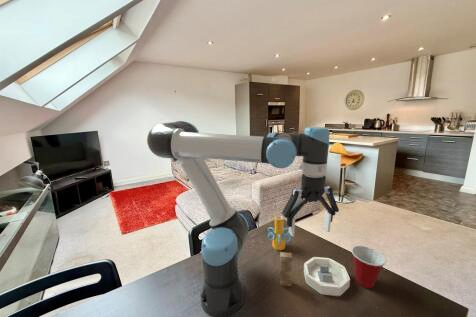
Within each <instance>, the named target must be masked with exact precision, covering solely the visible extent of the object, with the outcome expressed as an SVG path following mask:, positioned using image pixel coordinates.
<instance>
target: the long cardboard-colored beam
mask: <svg viewBox="0 0 476 317" xmlns="http://www.w3.org/2000/svg"><path fill="white" fill-rule="evenodd" d="M279 254H280V255H279V257H280V258H279V285H280V286H285V287H292V278H293V277H292V276H293V275H292V271H293V270H292V269H293V267H292V266H293V257H292V255H293V254H292V252H286V251H285V252H281V251H280V252H279Z"/></svg>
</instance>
